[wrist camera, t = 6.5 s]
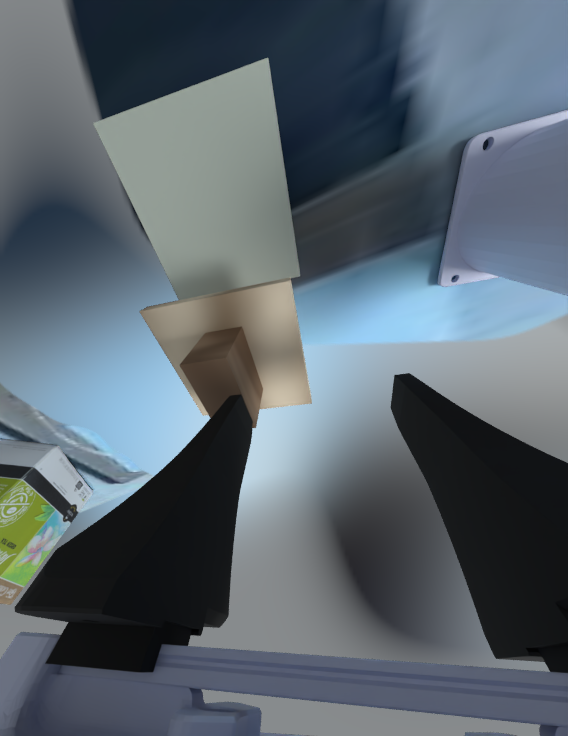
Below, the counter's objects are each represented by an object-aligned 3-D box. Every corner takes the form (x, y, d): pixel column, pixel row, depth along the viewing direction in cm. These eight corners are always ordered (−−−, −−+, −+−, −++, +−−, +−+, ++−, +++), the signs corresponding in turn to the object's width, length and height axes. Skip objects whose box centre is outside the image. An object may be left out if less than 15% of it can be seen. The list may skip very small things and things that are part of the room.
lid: (290, 277, 12) (288, 302, 8) (311, 396, 17) (315, 443, 13) (147, 306, 13) (91, 339, 9) (206, 408, 18) (184, 454, 14)
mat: (269, 65, 11) (267, 57, 10) (300, 274, 16) (300, 276, 16) (101, 127, 12) (92, 123, 12) (182, 299, 18) (179, 301, 17)
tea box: (98, 490, 40) (12, 608, 28) (43, 484, 40) (-68, 601, 27) (59, 443, 31) (-89, 584, 19) (-11, 435, 31) (-208, 573, 19)
